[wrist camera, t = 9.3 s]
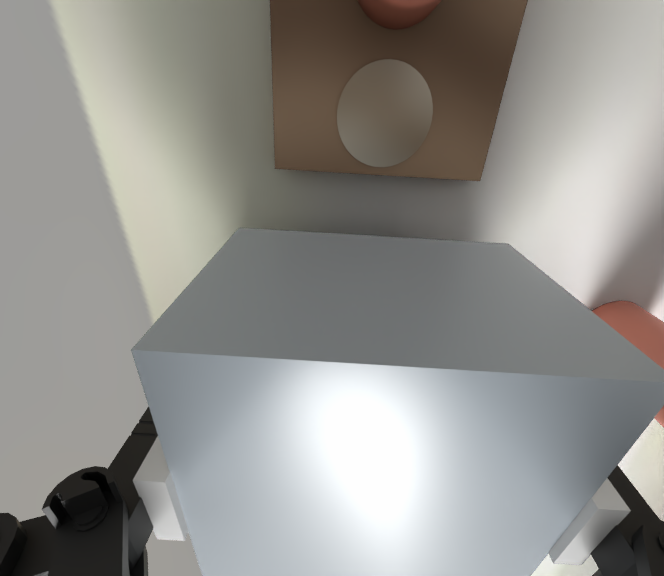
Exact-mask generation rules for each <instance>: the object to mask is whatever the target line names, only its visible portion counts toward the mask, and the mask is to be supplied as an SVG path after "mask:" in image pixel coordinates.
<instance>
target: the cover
mask: <svg viewBox="0 0 664 576" xmlns="http://www.w3.org/2000/svg"><path fill="white" fill-rule="evenodd" d="M131 351H132V354H133V358H134V361H135V364H136V367H137V370H138V374H139V376H140V380H141V383H142V386H143V389H144V393H145V395H146V399H147V402H148V405H149V408H150V412H151V415H152V418H153V421H154V424H155V427H156V431H157V434H158V437H159V440H160V443H161V446H162V450H163V453H164V456H165V459H166V462H167V465H168V469H169V472H170V473H171V476H172V479H173V483H174V486H175V489H176V492H177V495H178V499H179V502H180V505H181V508H182V511H183V514H184V518H185V521H186V524H187V527H188V532H189V535H190V538H191V541H192V545H193V548H194V551H195V554H196V557H197V560H198V564H199V567H200V570H201V573H202V576H531V575H532V573H533V572H534V571H535V570H536V568H537V567H538V566H539V564H540V563H541V562H542V561H543V559H544V558H545V557H546V556H547V554H548V552H549V551H550V550H551V549H552V547H553V546H554V545H555V543H556V542H557V541H558V540H559V538H560V537H561V536H562V534H563V533H564V532H565V531H566V529H567V528H568V527H569V525H570V524H571V523H572V522H573V520H574V519H575V518H576V516H577V515H578V514H579V513H580V511H581V510H582V509H583V507H584V506H585V505H586V504H587V502H588V501H589V500H590V499H591V498H592V497H593V495H594V494H595V493H596V492H597V490H598V489H599V488H600V486H601V485H602V484H603V483H604V481H605V480H606V479H607V477H608V476H609V475H610V474H611V472H612V471H613V470H614V468H615V467H616V466H617V465H618V463H619V462H620V461H621V460H622V458H623V457H624V456H625V454H626V453H627V452H628V451H629V449H630V448H631V447H632V445H633V444H634V443H635V442H636V440H637V439H638V438H639V436H640V435H641V434H642V433H643V431H644V430H645V429H646V428H647V426H648V425H649V424H650V422H651V421H652V420H653V419H654V417H655V416H656V415H657V413H658V412H659V411H660V410H661V408H662V407H663V406H664V369H663V368H661V367H660V366H659V365H658V364H656V363H655V362H654V361H653V360H652V359H650V358H649V357H648V356H647V355H645V354H644V353H643V352H642V351H640V350H639V349H638V348H637V347H635V346H634V345H633V344H632V343H630V342H629V341H628V340H627V339H626V338H624V337H623V336H622V335H621V334H619V333H618V332H617V331H616V330H614V329H613V328H612V327H611V326H609V325H608V324H607V323H606V322H604V321H603V320H602V319H601V318H600V317H598V316H597V315H596V314H595V313H593V312H592V311H591V310H590V309H588V308H587V307H586V306H585V305H583V304H582V303H581V302H580V301H579V300H577V299H576V298H575V297H574V296H572V295H571V294H570V293H569V292H567V291H566V290H565V289H564V288H562V287H561V286H560V285H559V284H557V283H556V282H555V281H554V280H553V279H551V278H550V277H549V276H548V275H546V274H545V273H544V272H543V271H541V270H540V269H539V268H538V267H536V266H535V265H534V264H533V263H531V262H530V261H529V260H528V259H527V258H525V257H524V256H523V255H522V254H520V253H519V252H518V251H517V250H515V249H514V248H513V247H512V246H510V245H509V244H503V243H487V242H470V241H454V240H437V239H420V238H404V237H387V236H371V235H354V234H338V233H321V232H304V231H288V230H271V229H255V228H238V230H237V231H236V232H235V233H234V234H233V235H232V236H231V238H230V239H229V240H228V241H227V242H226V243H225V244H224V245H223V247H222V248H221V249H220V250H219V251H218V252H217V253H216V254H215V256H214V257H213V258H212V259H211V260H210V261H209V262H208V264H207V265H206V266H205V267H204V268H203V269H202V270H201V271H200V273H199V274H198V275H197V276H196V277H195V278H194V279H193V280H192V282H191V283H190V284H189V285H188V286H187V287H186V288H185V289H184V291H183V292H182V293H181V294H180V295H179V296H178V297H177V299H176V300H175V301H174V302H173V303H172V304H171V305H170V306H169V308H168V309H167V310H166V311H165V312H164V313H163V314H162V315H161V317H160V318H159V319H158V320H157V321H156V322H155V323H154V325H153V326H152V327H151V328H150V329H149V330H148V331H147V332H146V334H145V335H144V336H143V337H142V338H141V340H140V341H139V342H138V343H137V344H136V345H135V346H134V347H133V348H132V349H131Z"/></svg>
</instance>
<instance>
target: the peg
mask: <svg viewBox="0 0 664 576" xmlns="http://www.w3.org/2000/svg"><path fill="white" fill-rule="evenodd" d="M592 312H593V313H595V314H596V315H597V316H598V317H600V318H601V319H602V320H603V321H604V322H606V323H607V324H608V325H609V326H611V327H612V328H613V329H614V330H616V331H617V332H618V333H619V334H621V335H622V336H623V337H624V338H626V339H627V340H628V341H629V342H630V343H632V344H633V345H634V346H635V347H637V348H638V349H639V350H640V351H642V352H643V353H644V354H645V355H647V356H648V357H649V358H650V359H652V360H653V361H654V362H655V363H656V364H658V365H659V366H660V367H661V368H663V369H664V322H663V321H661V320H660V319H658V318H657V317H655V316H653V315H652V314H650V313H649V312H647V311H646V310H644V309H643V308H641V307H640V306H638V305H637V304H635V303H632V302H629V301H615V302H610V303H607V304H604V305H602V306H600V307H598V308H596V309H594V310H593V311H592ZM654 418H655V419H656V420H657V421H658V422H659V423H660V424H661V425H662V426H663V427H664V406H663V407H662V408H661V410H660V411H659V412H658V413H657V415H656V416H655V417H654Z"/></svg>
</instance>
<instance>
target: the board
mask: <svg viewBox="0 0 664 576" xmlns="http://www.w3.org/2000/svg"><path fill="white" fill-rule="evenodd" d="M527 1H528V0H270V18H271V51H272V84H273V117H274V150H275V169H288V170H305V171H321V172H338V173H354V174H371V175H387V176H404V177H420V178H437V179H453V180H470V181H480V180H481V176H482V172H483V168H484V164H485V161H486V157H487V153H488V149H489V145H490V142H491V138H492V134H493V130H494V126H495V123H496V119H497V115H498V111H499V107H500V104H501V100H502V96H503V92H504V88H505V85H506V81H507V77H508V73H509V69H510V65H511V62H512V58H513V54H514V50H515V46H516V43H517V39H518V35H519V31H520V27H521V24H522V20H523V16H524V12H525V8H526V5H527Z"/></svg>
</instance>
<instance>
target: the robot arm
mask: <svg viewBox="0 0 664 576" xmlns="http://www.w3.org/2000/svg"><path fill="white" fill-rule="evenodd" d="M42 510H43V512H44V513H45V516H41V517H37V518H34V519H29V520H26V521H22V522H19V521H18V520H17V518H16V517H14V516H13V515H11V514H9V513H0V576H148V558H147V550H146V546H145V545H146V543H147V541H148V538H149V536H150V534H151V532H152V530H153V531H154V533H155V535H156V538H157V539H164V540H180V541H185V538H186V536H187V533H188V527H187V524H186V521H185V518H184V514H183V511H182V508H181V505H180V502H179V499H178V495H177V492H176V489H175V486H174V483H173V479H172V476H171V473H170V472H169V469H168V465H167V462H166V459H165V456H164V453H163V450H162V446H161V443H160V440H159V437H158V434H157V431H156V427H155V424H154V421H153V418H152V415H151V412H150V408H149V407H148V408H147V410H146V411H145V413H144V414H143V416H142V417H141V419H140V420H139V423H138V424H137V425H136V426H135V428H134V430H133V431H132V434H131V436H129V437H128V439H127V440H126V442H125V443H124V445H123V446H122V448H121V449H120V451H119V453H118V454H117V455H116V457H115V459H114V460H113V462H112V463H111V465H110V466H109V468H108V469H107V468H105V467H97V466H94V467H90V468H85V469H82V470H80V471H78V472H75V473H73V474H71V475H70V476H68V477H67V478H65V479H64V480H63V481H62V482H60V483H59V484H58V485H57V486H56V487H55V488H54V489H53V491H52V492H51V493H50V494H49V495H48V496H47V499H46V501H45V503H44V505H43V508H42ZM548 553H549V555H550V557H551V559H552V562H553V563H555V564H571V565H582V564H583V563H584V561H585V560H586V559H587V558H588V557H589V556H590V555H592V557H593V559H594V560H595V562H596V564H597V566H598V568H599V569H598V570H597V571H596V572H595V573H594V574H593V575H592V576H664V522H663V521H661V520H660V519H659V518H658V517H657V515H656V514H655V513H654V512H653V510H652V509H651V508H650V507H649V505H648V504H647V503H646V501H645V500H644V499H643V497H642V496H641V495H640V494H639V492H638V491H637V490H636V488H635V487H634V486H633V485H632V483H631V482H630V481H629V479H628V478H627V477H626V475H625V474H624V473H623V472H622V470H621V469H620V468H619V466H618V465H617V466H616V467H615V468H614V470H613V471H612V472H611V474H610V475H609V476H608V477H607V479H606V480H605V481H604V483H603V484H602V485H601V486H600V488H599V489H598V490H597V492H596V493H595V494H594V495H593V497H592V498H591V499H590V500H589V501H588V502H587V504H586V505H585V506H584V507H583V509H582V510H581V511H580V513H579V514H578V515H577V516H576V518H575V519H574V520H573V522H572V523H571V524H570V525H569V527H568V528H567V529H566V531H565V532H564V533H563V534H562V536H561V537H560V538H559V540H558V541H557V542H556V543H555V545H554V546H553V547H552V549H551V550H550V551H549V552H548Z"/></svg>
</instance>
